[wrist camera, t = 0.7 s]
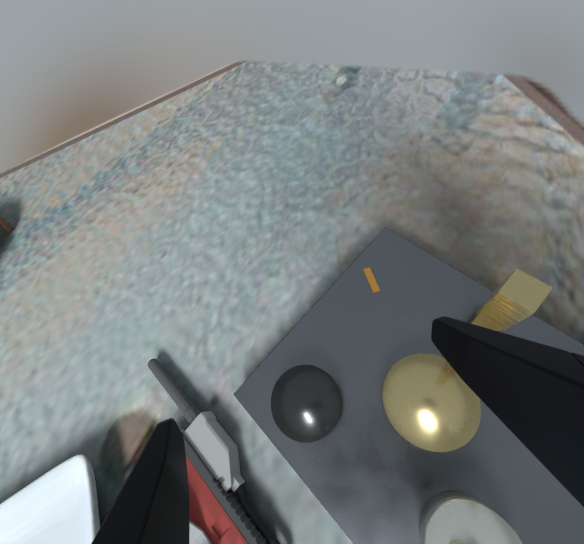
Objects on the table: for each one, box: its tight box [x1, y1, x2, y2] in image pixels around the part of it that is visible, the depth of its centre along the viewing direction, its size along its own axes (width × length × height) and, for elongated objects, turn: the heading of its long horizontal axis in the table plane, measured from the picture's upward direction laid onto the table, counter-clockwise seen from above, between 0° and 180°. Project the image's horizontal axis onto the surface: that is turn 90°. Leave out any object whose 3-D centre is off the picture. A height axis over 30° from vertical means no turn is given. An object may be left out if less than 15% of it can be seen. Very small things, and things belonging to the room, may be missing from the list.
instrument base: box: [234, 228, 584, 544], centre depth 21 cm, size 22×20×5 cm
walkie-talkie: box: [148, 359, 280, 544], centre depth 23 cm, size 9×4×20 cm
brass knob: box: [382, 269, 553, 452], centre depth 19 cm, size 12×6×6 cm, turn 136°
